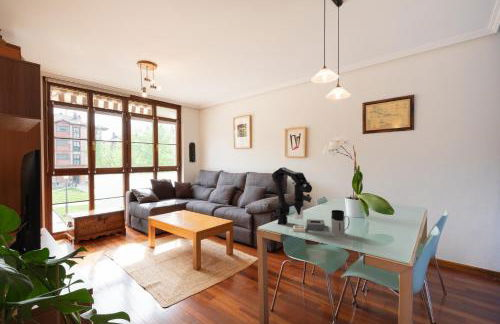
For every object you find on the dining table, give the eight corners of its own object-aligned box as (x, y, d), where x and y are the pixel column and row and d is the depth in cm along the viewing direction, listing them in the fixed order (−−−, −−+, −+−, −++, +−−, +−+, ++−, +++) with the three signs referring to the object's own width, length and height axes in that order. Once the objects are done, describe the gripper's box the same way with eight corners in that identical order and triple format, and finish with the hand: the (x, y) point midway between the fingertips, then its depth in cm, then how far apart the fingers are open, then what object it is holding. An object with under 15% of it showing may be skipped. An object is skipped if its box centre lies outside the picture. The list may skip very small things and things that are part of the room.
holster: (293, 231, 158) (292, 228, 158) (293, 228, 165) (293, 225, 165) (305, 232, 156) (305, 229, 156) (305, 229, 163) (305, 226, 163)
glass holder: (338, 231, 156) (338, 209, 156) (355, 238, 143) (354, 213, 142) (327, 233, 153) (327, 210, 153) (343, 240, 140) (343, 215, 139)
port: (306, 229, 161) (306, 223, 161) (306, 224, 173) (306, 218, 173) (325, 230, 159) (324, 223, 158) (323, 225, 170) (323, 219, 170)
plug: (295, 218, 159) (295, 205, 159) (295, 217, 163) (295, 204, 162) (303, 219, 158) (302, 205, 158) (303, 217, 161) (302, 204, 161)
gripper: (311, 193, 149) (311, 217, 149) (310, 189, 167) (311, 211, 167) (293, 193, 152) (293, 217, 152) (294, 189, 170) (295, 210, 170)
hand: (299, 213), depth 160 cm, fingers closed on plug, 3 cm apart
